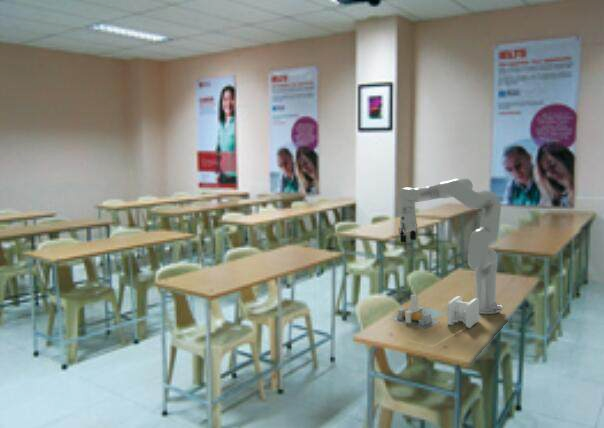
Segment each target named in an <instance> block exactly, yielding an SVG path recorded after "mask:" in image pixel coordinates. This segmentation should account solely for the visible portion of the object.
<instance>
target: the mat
mask: <svg viewBox="0 0 604 428" xmlns="http://www.w3.org/2000/svg"><path fill="white" fill-rule="evenodd" d="M407 310H411V307H410V308H407ZM416 312H418V311H416ZM425 313H429V314H431V317H432V319H433V320H436V319H437V318H439V317H441V316H443V315H447V312H443V311H439V310H436V309H435V310H434V309H429V308H424V307H423V314H425Z"/></svg>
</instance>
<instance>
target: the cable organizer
mask: <svg viewBox="0 0 604 428" xmlns="http://www.w3.org/2000/svg"><path fill="white" fill-rule="evenodd" d="M462 297H463V296H461V295H457V296H455V297H454V298H452V299H451V300H449V301H448V302H447V303H446V305H445V307H446V323H447V324H446V325H448V326H453V325H455V324H456V325H457V324H459V323H458V322H463V324H462V325H465V327H466V328H468V329H471V328H472V327H473V326H474V325H475V324H477V323H478V322H479V319H480V313H479V299H478V298H476V297H474V298H473V299H471V300H470V301H463V298H462Z"/></svg>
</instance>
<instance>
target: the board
mask: <svg viewBox="0 0 604 428" xmlns="http://www.w3.org/2000/svg"><path fill="white" fill-rule="evenodd" d="M389 321H393V322H397V323H401V324H405V325H409V326H413V327H418V328H421V329H427V328H430V327H432V326H434V325H435V324H439V323H440V322H441V320H437V319H432V317H431V323H429V324H427V325H425V320H421V319H420V320H419V321H415V320H411V323H406V319H405V318H404V319H403V315H400V314H396V316H394V317H392V318H389Z"/></svg>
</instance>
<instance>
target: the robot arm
mask: <svg viewBox="0 0 604 428" xmlns="http://www.w3.org/2000/svg"><path fill="white" fill-rule="evenodd" d="M473 188H474V186H473V183H472V181H471V180H470V179H469V178H465V177H464V178H463V177H462V178H454V179H452V180H446V181H440V182H439V183H438V184H434V185H430V186H424V187H423V186H422V187H415V188H413V187H402V188H401V189H400V219H399V221H400V222H399V226H398V229H397V230H398V233H399V236H400V243H406V242H407V236H406V233H407V232H410V233H409V234H410V235H409V237H410V240H413V241H414V240H415V241H416V239H417V238H416V236H417V230H418V229H417V228H418V223H417V215H416V205H415V204H416V203H421V202H425V201H427V202H428V201H430V200H437V199H447V198H448V199H449V198H454V199H456V200H457V201H458V202H459V203H461V204H463V205H464V206H465V207H467V208H468V209H470V210H480V209H483V211H482V214H481V217H480V224H479V225H480V226H479V228H477V229H475V230H474V231H473V232H471V235H470V237H469V241H468V248H467V249H468V250H467V263H468V266H469V267H470V269H471V270H473V271H475V298H478V299H479V314H483V315H493V314H497V313H499V312H501V311H502V312H503V311H504V306H503V305H500V304H498V301H497V300H496V299H497V296H496V295H497V293H496V292H497V270H498V269H497V267H498V261H499V260H498V259H499V258H498V254H497V252H496V251H495V250H494V249H493V248H490V247H491V246H493V245H495V244H497V241H498V238H499V230H500V229H499V228H500V218H501V212H502V203H501V200H500V198H499V197H498V195H496V193H494V192H492V191H490V190H487V189H486V190H485V189H484V190H477V191H476V190H474V189H473Z"/></svg>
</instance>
